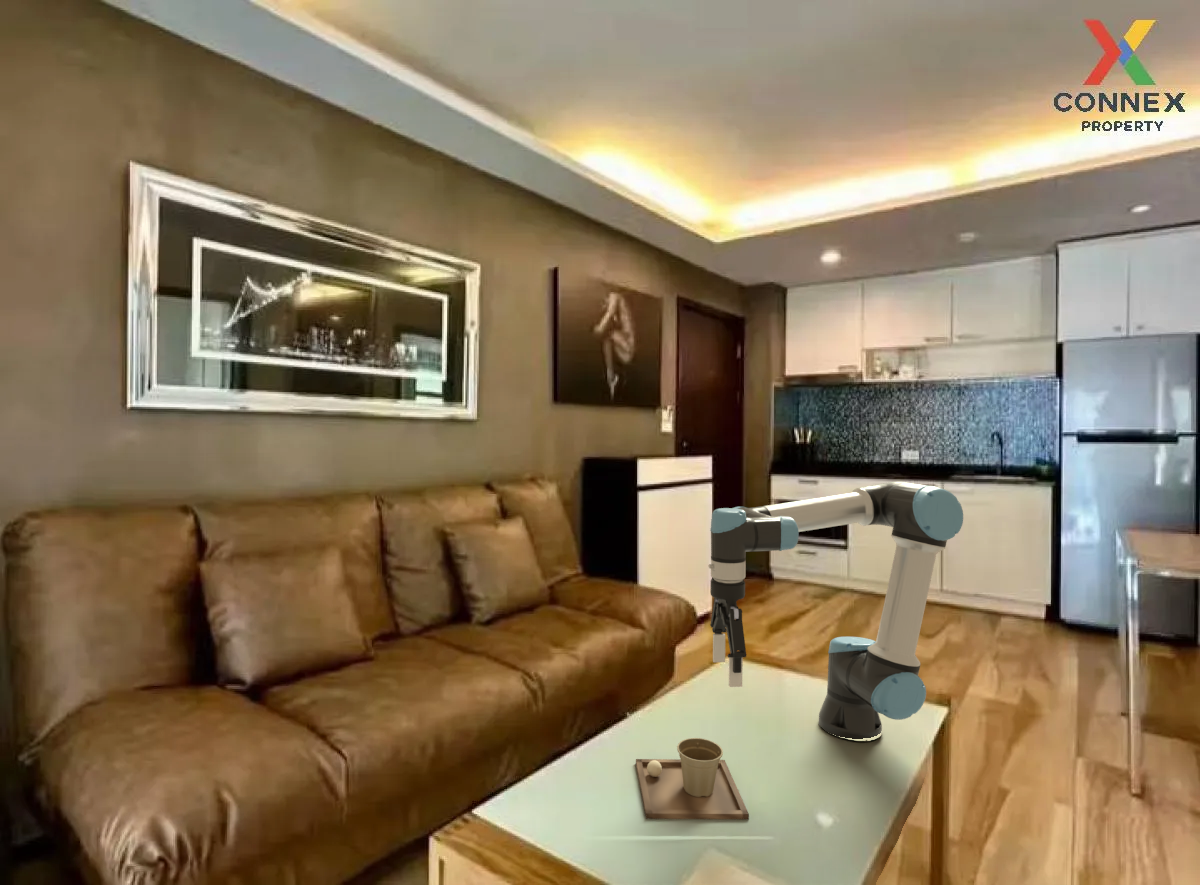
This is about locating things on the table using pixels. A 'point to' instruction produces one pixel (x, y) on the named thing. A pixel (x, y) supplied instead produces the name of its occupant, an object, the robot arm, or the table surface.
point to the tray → (673, 802)
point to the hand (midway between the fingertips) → (726, 673)
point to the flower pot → (699, 765)
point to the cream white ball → (654, 768)
